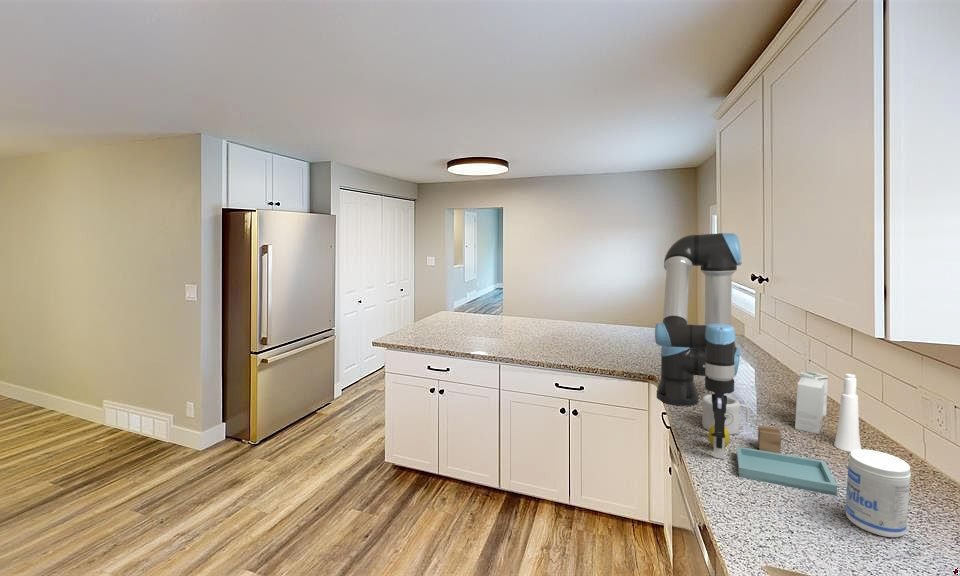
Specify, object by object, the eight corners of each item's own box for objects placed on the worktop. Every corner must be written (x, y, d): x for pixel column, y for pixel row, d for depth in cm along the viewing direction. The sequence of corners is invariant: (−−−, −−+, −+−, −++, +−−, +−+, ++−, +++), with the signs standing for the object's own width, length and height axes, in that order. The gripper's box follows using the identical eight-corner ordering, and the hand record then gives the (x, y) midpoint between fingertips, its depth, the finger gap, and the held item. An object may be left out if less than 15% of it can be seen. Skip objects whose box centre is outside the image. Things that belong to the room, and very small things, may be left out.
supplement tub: (835, 518, 92) (838, 454, 91) (859, 506, 96) (862, 444, 95) (893, 545, 83) (896, 475, 82) (916, 531, 87) (920, 463, 86)
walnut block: (758, 444, 127) (758, 425, 126) (778, 447, 125) (778, 428, 124) (759, 451, 123) (760, 431, 122) (780, 455, 120) (781, 435, 120)
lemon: (710, 443, 129) (710, 418, 128) (730, 448, 125) (731, 422, 124) (706, 450, 124) (706, 424, 124) (727, 455, 121) (728, 429, 120)
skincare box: (799, 421, 142) (800, 376, 140) (824, 426, 137) (825, 380, 136) (794, 429, 136) (795, 382, 134) (820, 435, 131) (822, 386, 130)
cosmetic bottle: (865, 449, 121) (868, 375, 119) (855, 454, 118) (858, 379, 116) (840, 441, 127) (842, 370, 125) (830, 446, 124) (832, 373, 122)
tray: (736, 454, 121) (736, 446, 121) (824, 469, 111) (824, 460, 111) (738, 476, 110) (739, 467, 110) (836, 495, 100) (837, 485, 100)
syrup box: (797, 411, 149) (798, 372, 148) (811, 410, 150) (812, 370, 149) (812, 418, 144) (814, 376, 142) (827, 416, 145) (828, 375, 143)
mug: (705, 433, 136) (705, 403, 135) (699, 420, 146) (699, 392, 145) (753, 437, 131) (754, 406, 130) (743, 423, 141) (744, 395, 141)
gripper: (705, 365, 135) (705, 431, 137) (704, 387, 114) (703, 464, 116) (732, 367, 131) (731, 435, 133) (736, 390, 111) (735, 470, 113)
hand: (718, 449), depth 125 cm, fingers open, 11 cm apart
